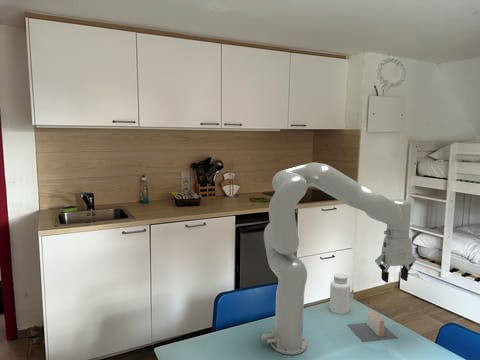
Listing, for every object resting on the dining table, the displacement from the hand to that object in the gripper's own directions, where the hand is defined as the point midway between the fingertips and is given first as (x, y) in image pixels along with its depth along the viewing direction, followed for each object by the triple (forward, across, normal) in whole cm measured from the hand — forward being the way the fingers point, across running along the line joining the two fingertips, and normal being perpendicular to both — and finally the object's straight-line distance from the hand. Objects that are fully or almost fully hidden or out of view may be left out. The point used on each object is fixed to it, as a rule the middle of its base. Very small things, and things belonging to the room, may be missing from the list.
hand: (394, 279), depth 136 cm
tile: (+19, -6, 0) cm, 20 cm away
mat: (+20, -8, 0) cm, 21 cm away
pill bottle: (+20, -12, +18) cm, 29 cm away
